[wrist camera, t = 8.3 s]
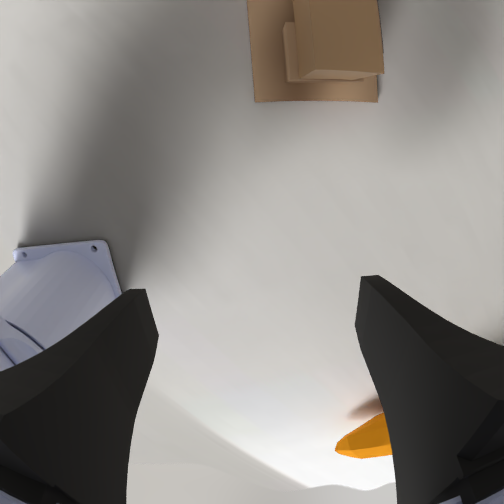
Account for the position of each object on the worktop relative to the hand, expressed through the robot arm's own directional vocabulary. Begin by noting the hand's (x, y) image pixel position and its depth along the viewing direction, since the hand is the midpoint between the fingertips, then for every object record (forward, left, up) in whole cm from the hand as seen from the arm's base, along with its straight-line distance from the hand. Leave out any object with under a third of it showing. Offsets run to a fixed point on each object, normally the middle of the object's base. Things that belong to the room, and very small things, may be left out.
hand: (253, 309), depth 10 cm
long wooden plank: (+4, +14, -7) cm, 16 cm away
